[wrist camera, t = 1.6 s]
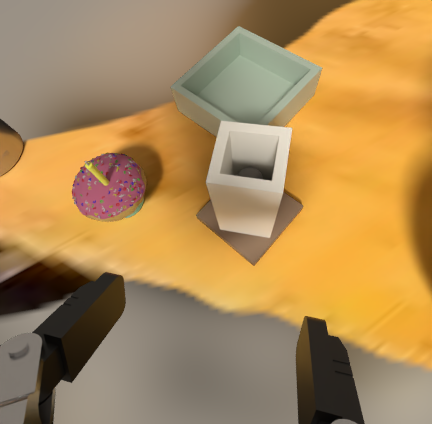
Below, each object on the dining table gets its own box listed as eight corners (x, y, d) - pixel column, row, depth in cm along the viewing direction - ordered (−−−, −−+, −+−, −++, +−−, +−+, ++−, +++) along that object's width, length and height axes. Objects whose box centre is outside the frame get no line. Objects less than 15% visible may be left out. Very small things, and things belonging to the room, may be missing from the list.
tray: (178, 110, 40) (170, 86, 36) (239, 54, 43) (238, 26, 39) (251, 161, 36) (252, 140, 32) (314, 94, 39) (322, 67, 35)
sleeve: (220, 229, 32) (205, 182, 21) (229, 185, 34) (221, 120, 23) (269, 238, 31) (283, 193, 20) (276, 192, 33) (292, 127, 22)
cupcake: (170, 194, 35) (135, 139, 24) (125, 246, 34) (66, 211, 22) (125, 162, 38) (75, 99, 27) (81, 208, 36) (8, 160, 25)
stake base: (197, 218, 34) (181, 185, 25) (244, 169, 36) (243, 122, 27) (254, 266, 31) (256, 246, 22) (301, 209, 33) (320, 172, 24)
